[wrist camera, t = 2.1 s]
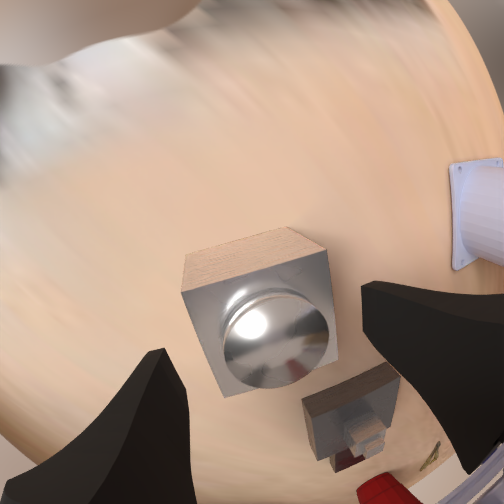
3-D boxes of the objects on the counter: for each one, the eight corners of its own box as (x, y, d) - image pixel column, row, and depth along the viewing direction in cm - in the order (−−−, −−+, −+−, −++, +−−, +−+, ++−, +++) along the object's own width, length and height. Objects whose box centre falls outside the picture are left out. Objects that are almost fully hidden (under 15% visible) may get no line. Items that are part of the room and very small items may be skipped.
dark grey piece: (386, 361, 18) (424, 400, 13) (374, 442, 21) (395, 473, 17) (301, 399, 17) (328, 451, 12) (314, 469, 21) (330, 504, 16)
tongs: (442, 434, 29) (447, 441, 27) (432, 456, 33) (436, 461, 32) (423, 449, 29) (429, 457, 27) (416, 468, 33) (420, 474, 31)
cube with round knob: (286, 226, 13) (340, 257, 8) (302, 313, 15) (348, 373, 10) (185, 254, 13) (179, 305, 8) (215, 340, 14) (227, 415, 9)
